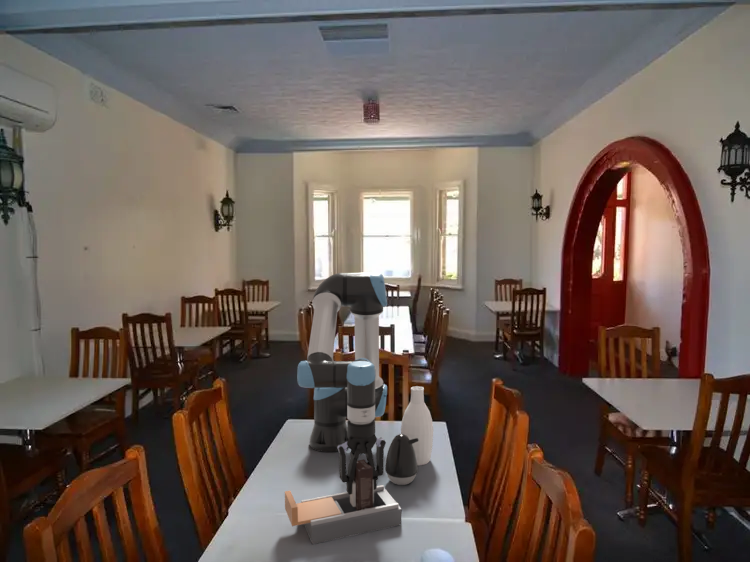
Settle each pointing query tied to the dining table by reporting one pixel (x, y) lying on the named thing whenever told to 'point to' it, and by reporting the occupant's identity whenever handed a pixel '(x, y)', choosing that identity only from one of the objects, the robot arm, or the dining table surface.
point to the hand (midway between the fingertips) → (361, 502)
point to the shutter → (309, 509)
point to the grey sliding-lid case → (354, 517)
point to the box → (363, 485)
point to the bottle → (418, 425)
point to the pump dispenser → (401, 460)
